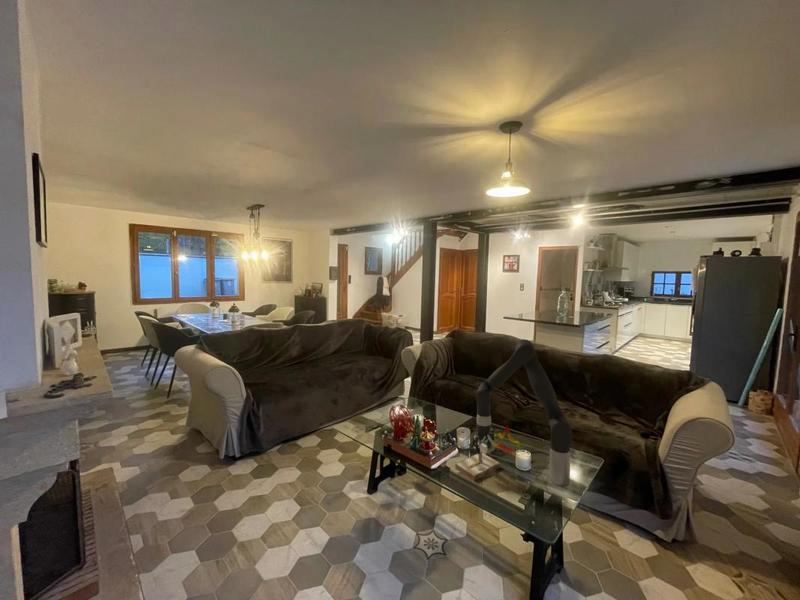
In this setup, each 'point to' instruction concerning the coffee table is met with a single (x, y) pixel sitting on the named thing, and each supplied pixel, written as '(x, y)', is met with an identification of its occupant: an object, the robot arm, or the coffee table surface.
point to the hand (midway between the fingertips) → (483, 450)
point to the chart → (503, 445)
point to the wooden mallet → (482, 450)
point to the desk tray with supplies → (477, 466)
